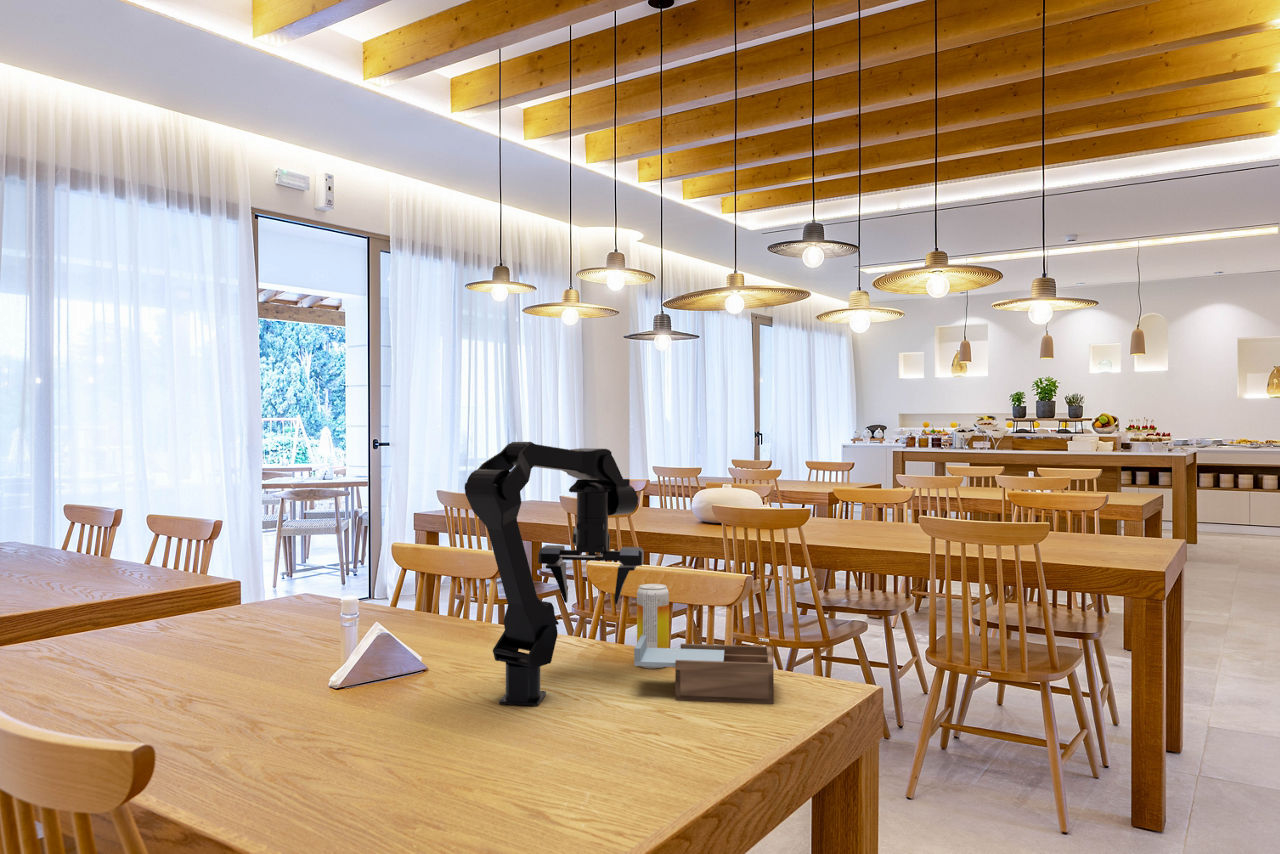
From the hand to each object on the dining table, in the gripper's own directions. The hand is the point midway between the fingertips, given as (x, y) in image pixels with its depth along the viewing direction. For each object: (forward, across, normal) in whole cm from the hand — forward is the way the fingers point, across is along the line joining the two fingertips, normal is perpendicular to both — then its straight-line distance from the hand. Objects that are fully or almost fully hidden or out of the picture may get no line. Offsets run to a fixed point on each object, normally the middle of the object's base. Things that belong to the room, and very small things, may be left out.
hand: (591, 603), depth 154 cm
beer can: (+13, -11, -8) cm, 19 cm away
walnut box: (+13, -24, +7) cm, 28 cm away
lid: (+8, -17, +7) cm, 20 cm away
